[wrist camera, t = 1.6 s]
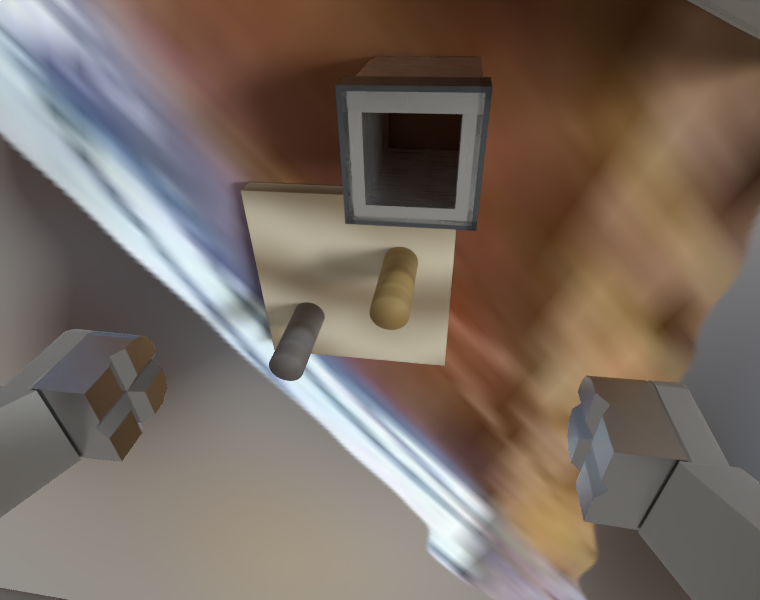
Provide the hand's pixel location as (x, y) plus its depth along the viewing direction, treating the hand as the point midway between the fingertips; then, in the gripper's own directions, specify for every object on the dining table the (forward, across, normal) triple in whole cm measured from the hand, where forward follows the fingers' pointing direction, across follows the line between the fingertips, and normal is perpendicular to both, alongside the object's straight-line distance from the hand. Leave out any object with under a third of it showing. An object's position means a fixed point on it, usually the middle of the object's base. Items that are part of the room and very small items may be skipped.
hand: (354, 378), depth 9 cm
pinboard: (+18, +4, +10) cm, 21 cm away
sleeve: (+18, 0, 0) cm, 18 cm away
